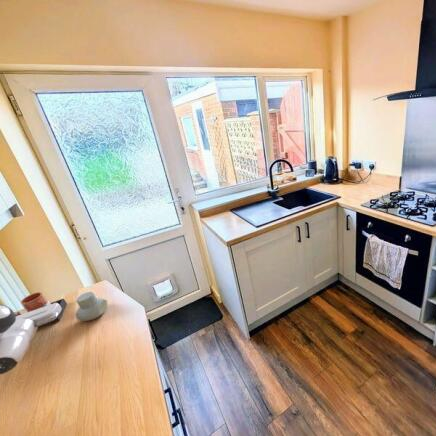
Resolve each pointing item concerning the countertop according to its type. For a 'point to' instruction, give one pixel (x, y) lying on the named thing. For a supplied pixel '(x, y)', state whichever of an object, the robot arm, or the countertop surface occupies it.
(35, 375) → the countertop surface
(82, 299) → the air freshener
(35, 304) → the tumbler
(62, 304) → the tray
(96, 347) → the countertop surface
